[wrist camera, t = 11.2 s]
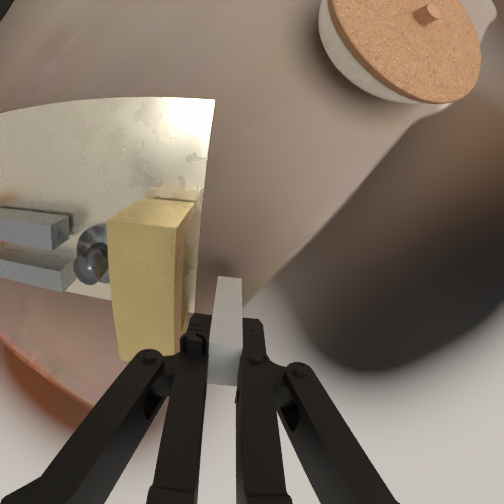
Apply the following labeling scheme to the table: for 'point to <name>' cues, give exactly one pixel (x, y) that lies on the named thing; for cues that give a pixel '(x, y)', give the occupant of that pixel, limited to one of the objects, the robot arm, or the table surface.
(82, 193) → the tongs base
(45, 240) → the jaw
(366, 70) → the lidded jar
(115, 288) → the tan rectangular block
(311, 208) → the table surface
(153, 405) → the robot arm
